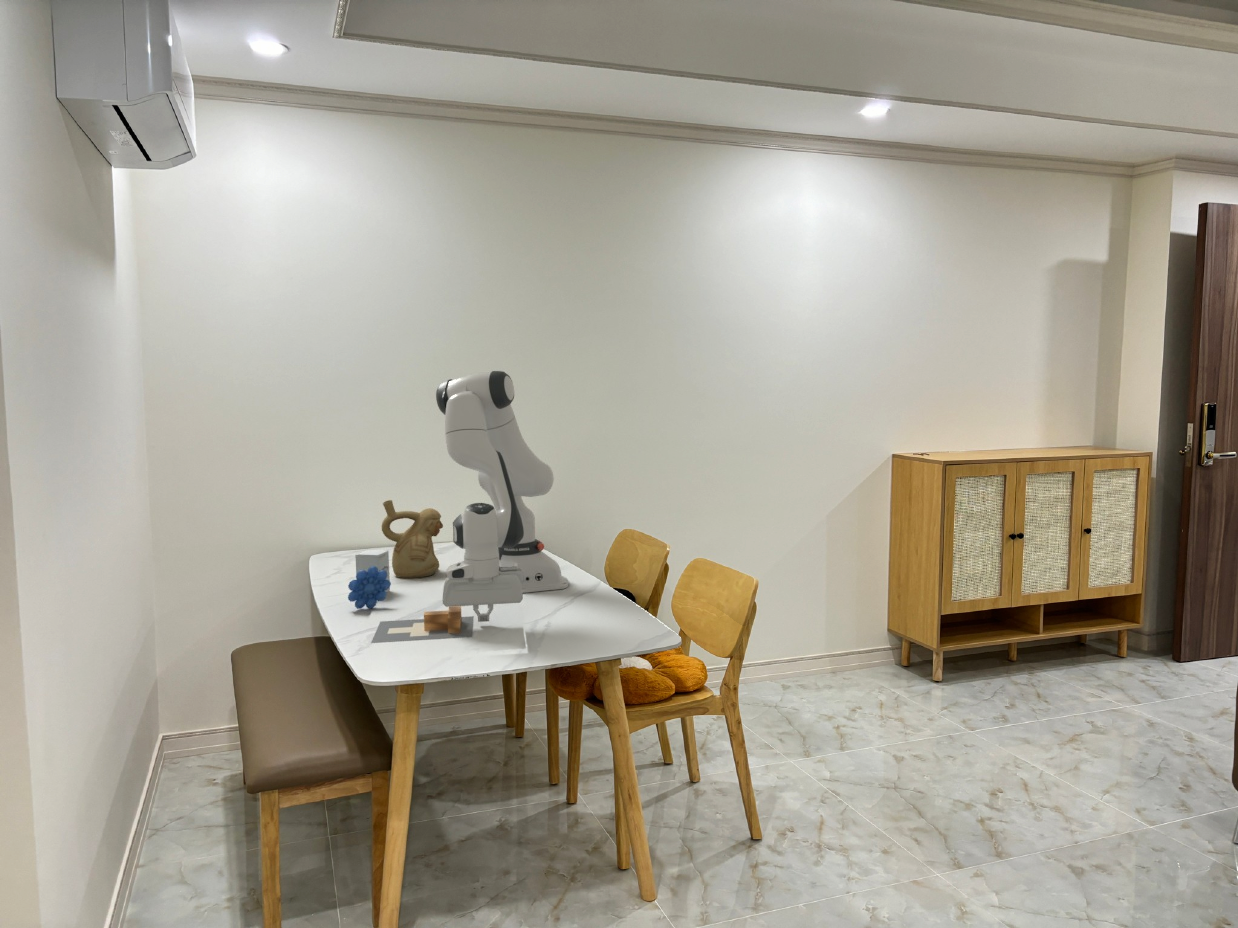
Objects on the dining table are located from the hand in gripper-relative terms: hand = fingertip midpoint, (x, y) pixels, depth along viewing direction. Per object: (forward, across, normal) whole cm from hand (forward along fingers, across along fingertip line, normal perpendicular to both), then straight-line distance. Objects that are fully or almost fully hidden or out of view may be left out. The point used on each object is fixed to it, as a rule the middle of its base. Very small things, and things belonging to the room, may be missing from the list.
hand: (483, 621), depth 218 cm
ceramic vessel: (+2, +23, -66) cm, 70 cm away
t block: (+1, +10, 0) cm, 10 cm away
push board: (+2, +15, 0) cm, 15 cm away
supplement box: (+2, +33, -43) cm, 54 cm away
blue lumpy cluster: (+2, +32, -27) cm, 42 cm away
